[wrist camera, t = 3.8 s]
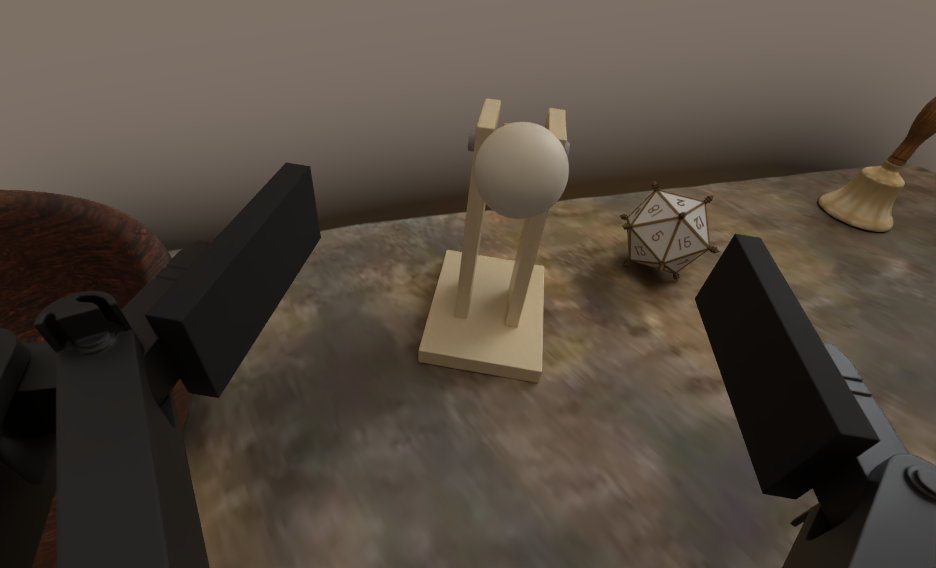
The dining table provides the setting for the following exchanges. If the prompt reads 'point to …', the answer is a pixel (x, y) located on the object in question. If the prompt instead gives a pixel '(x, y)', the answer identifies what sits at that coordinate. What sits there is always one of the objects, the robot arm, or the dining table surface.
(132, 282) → the wooden bowl
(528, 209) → the lever
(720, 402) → the dining table surface
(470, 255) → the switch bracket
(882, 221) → the hand bell
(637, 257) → the game die
